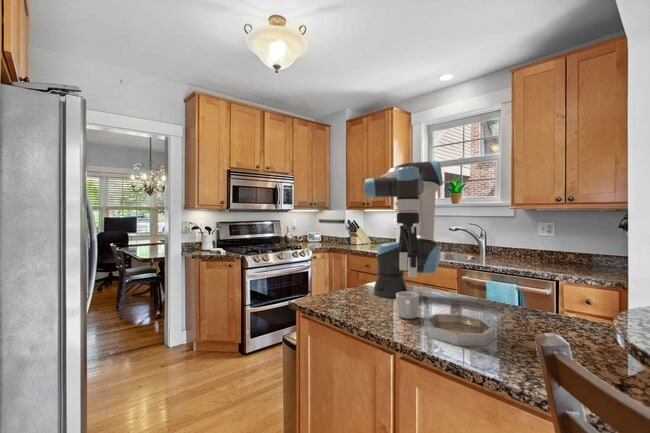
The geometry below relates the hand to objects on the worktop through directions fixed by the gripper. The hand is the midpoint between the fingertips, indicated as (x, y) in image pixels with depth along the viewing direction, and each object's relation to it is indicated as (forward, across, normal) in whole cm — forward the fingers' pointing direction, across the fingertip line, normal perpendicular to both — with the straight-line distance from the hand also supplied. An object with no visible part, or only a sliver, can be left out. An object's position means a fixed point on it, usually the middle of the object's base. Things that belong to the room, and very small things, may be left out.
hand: (407, 273), depth 112 cm
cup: (+16, 0, 0) cm, 16 cm away
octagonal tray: (+16, +14, +12) cm, 24 cm away
